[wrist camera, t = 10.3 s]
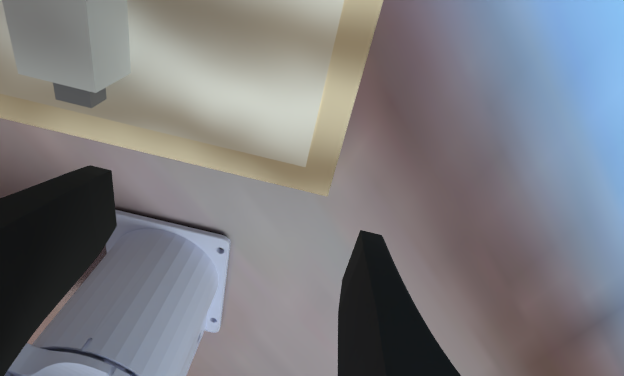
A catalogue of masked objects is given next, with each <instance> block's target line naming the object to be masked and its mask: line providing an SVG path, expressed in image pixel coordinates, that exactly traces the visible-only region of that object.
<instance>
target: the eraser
mask: <svg viewBox="0 0 624 376" xmlns="http://www.w3.org/2000/svg"><path fill="white" fill-rule="evenodd" d="M2 3H3V7H4V12H5V16H6V21H7V25H8V30H9V34H10V39H11V44H12V48H13V53H14V57H15V62H16V66H17V71H18V74H21V75H25V76H29V77H33V78H37V79H41V80H45V81H49V82H53V87H54V93H55V99H56V100H60V101H64V102H68V103H72V104H76V105H80V106H84V107H88V108H93V107H94V106H96V105H98V104H99V103H101V102H103V101H104V100H106V99H107V96H106V87H107V86H109V85H111V84H113V83H114V82H116V81H118V80H120V79H122V78H123V77H125V76H127V75H129V74H130V73H131V65H130V46H129V27H128V8H127V0H2Z"/></svg>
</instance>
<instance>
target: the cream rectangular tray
mask: <svg viewBox="0 0 624 376" xmlns="http://www.w3.org/2000/svg"><path fill="white" fill-rule="evenodd" d="M382 3H383V0H127V8H128V27H129V46H130V65H131V73H130V74H129V75H127V76H125V77H123V78H122V79H120V80H118V81H116V82H114V83H113V84H111V85H109V86H107V87H106V96H107V99H106V100H104V101H103V102H101V103H99V104H98V105H96V106H94V107H93V108H88V107H84V106H80V105H76V104H72V103H68V102H64V101H60V100H56V99H55V93H54V87H53V82H49V81H45V80H41V79H37V78H33V77H29V76H25V75H21V74H18V71H17V66H16V62H15V57H14V53H13V48H12V44H11V39H10V34H9V30H8V25H7V21H6V16H5V12H4V7H3V3H2V0H0V118H3V119H7V120H11V121H16V122H20V123H24V124H28V125H32V126H36V127H41V128H45V129H49V130H53V131H57V132H61V133H66V134H70V135H74V136H78V137H82V138H86V139H90V140H95V141H99V142H103V143H107V144H111V145H115V146H120V147H124V148H128V149H132V150H136V151H140V152H145V153H149V154H153V155H157V156H161V157H165V158H170V159H174V160H178V161H182V162H186V163H190V164H195V165H199V166H203V167H207V168H211V169H215V170H219V171H224V172H228V173H232V174H236V175H240V176H244V177H249V178H253V179H257V180H261V181H265V182H269V183H274V184H278V185H282V186H286V187H290V188H294V189H299V190H303V191H307V192H311V193H315V194H319V195H324V196H328V193H329V189H330V186H331V182H332V179H333V175H334V172H335V168H336V165H337V161H338V158H339V154H340V151H341V147H342V144H343V140H344V137H345V133H346V129H347V126H348V122H349V119H350V115H351V112H352V108H353V105H354V101H355V98H356V94H357V91H358V87H359V84H360V80H361V77H362V73H363V70H364V66H365V63H366V59H367V56H368V52H369V49H370V45H371V42H372V38H373V34H374V31H375V27H376V24H377V20H378V17H379V13H380V10H381V6H382Z"/></svg>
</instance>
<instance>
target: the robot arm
mask: <svg viewBox="0 0 624 376" xmlns="http://www.w3.org/2000/svg"><path fill="white" fill-rule="evenodd" d="M105 245H106V251H107V254H106V255H105V257H104V258H103V259H102V260H101V261H100V263H99V264H98V265H97V266H96V268H95V269H94V270H93V271H92V272H91V274H90V275H89V276H88V277H87V278H86V280H85V281H84V282H83V283H82V285H81V286H80V287H79V288H78V289H77V291H76V292H75V293H74V294H73V295H72V297H71V298H70V299H69V300H68V301H67V303H66V304H65V305H64V306H63V308H62V309H61V310H60V311H59V312H58V314H57V315H56V316H55V317H54V318H53V320H52V321H51V322H50V323H49V325H48V326H47V327H46V328H45V329H44V331H43V332H42V333H41V334H40V335H39V337H38V338H37V339H36V340H35V341H34V343H33V344H32V345H30V344H28V343H27V342H28V340H29V339H30V337H31V336H32V335H33V333H34V332H35V331H36V329H37V328H38V327H39V326H40V324H41V323H42V322H43V321H44V319H45V318H46V317H47V316H48V315H49V313H50V312H51V311H52V310H53V309H54V308H55V306H56V305H57V304H58V303H59V302H60V301H61V299H62V298H63V297H64V296H65V295H66V293H67V292H68V291H69V290H70V289H71V288H72V286H73V285H74V284H75V283H76V282H77V281H78V279H79V278H80V277H81V276H82V275H83V273H84V272H85V271H86V270H87V269H88V267H89V266H90V265H91V264H92V263H93V261H94V260H95V259H96V258H97V256H98V255H99V254H100V252H101V251H102V249H103V248H104V246H105ZM220 248H223V249H224V250H222V249H220ZM229 251H230V240H229V238H228V237H226V236H224V235H220V234H216V233H212V232H207V231H203V230H199V229H195V228H191V227H186V226H182V225H178V224H174V223H170V222H165V221H161V220H157V219H153V218H148V217H144V216H140V215H136V214H132V213H127V212H123V211H119V210H115V202H114V192H113V182H112V173H111V170H107V169H103V168H98V167H94V166H87V167H84V168H81V169H78V170H75V171H72V172H69V173H67V174H64V175H61V176H59V177H56V178H53V179H51V180H48V181H46V182H43V183H40V184H38V185H35V186H33V187H30V188H27V189H25V190H22V191H19V192H17V193H14V194H11V195H9V196H6V197H3V198H0V376H186V375H187V372H188V370H189V367H190V365H191V363H192V360H193V358H194V355H195V353H196V350H197V348H198V346H199V343H200V341H201V338H202V336H203V333H204V331H209V332H218V331H219V329H220V326H221V318H222V310H223V302H224V293H225V285H226V276H227V268H228V259H229ZM338 376H461V375H460V374H459V373H458V371H457V370H456V369H455V367H454V366H453V365H452V363H451V362H450V360H449V359H448V357H447V356H446V354H445V353H444V352H443V350H442V349H441V347H440V346H439V344H438V343H437V341H436V340H435V338H434V336H433V335H432V333H431V332H430V330H429V328H428V327H427V325H426V323H425V322H424V320H423V318H422V316H421V315H420V313H419V311H418V309H417V308H416V306H415V304H414V302H413V300H412V298H411V296H410V294H409V293H408V291H407V289H406V287H405V285H404V283H403V281H402V279H401V277H400V275H399V273H398V270H397V268H396V266H395V264H394V262H393V259H392V257H391V255H390V253H389V250H388V248H387V246H386V243H385V241H384V239H383V237H382V235H379V234H374V233H370V232H366V231H362V230H360V233H359V236H358V238H357V241H356V244H355V247H354V249H353V252H352V255H351V258H350V260H349V263H348V266H347V268H346V271H345V274H344V277H343V279H342V287H341V294H340V303H339V311H338Z"/></svg>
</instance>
